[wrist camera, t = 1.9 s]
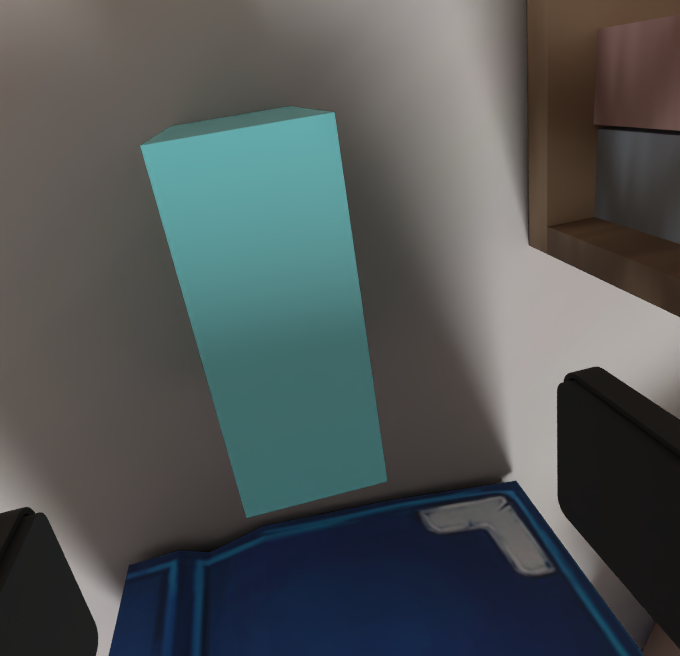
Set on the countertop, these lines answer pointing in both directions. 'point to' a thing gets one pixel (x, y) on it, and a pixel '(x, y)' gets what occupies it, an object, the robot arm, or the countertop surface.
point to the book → (376, 587)
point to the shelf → (565, 102)
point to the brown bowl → (659, 644)
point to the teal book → (273, 299)
